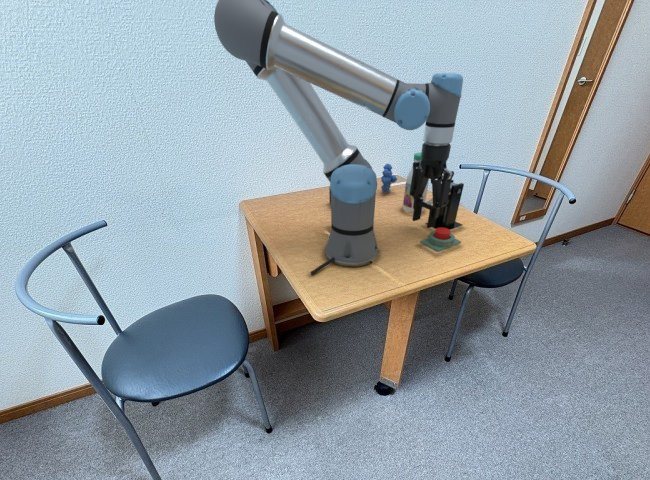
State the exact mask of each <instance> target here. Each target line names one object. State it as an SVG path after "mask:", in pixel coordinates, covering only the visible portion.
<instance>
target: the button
mask: <svg viewBox="0 0 650 480" xmlns="http://www.w3.org/2000/svg"><path fill="white" fill-rule="evenodd" d="M434 229H435V228H434ZM434 231H435V234H434V237H435V238H437V239H441V240H447V239H449V237H450V233H452V230H449V229H447V228H442V227H440V228H436V229H435V230H434Z"/></svg>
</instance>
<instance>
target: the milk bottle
mask: <svg viewBox="0 0 650 480" xmlns="http://www.w3.org/2000/svg"><path fill="white" fill-rule="evenodd" d="M421 160H422V157H421V152H415V153H414V155H413V163H414V162H418V161H421ZM412 175H413V165H412V166H411V168H410V170H409V172H408V175H407V176H406V180H405V187H404V195H403V201H402V210H403V211H404V212H407V213H412V214H413V213H414V209H413V203H414V199H413V196H410V194H409V193H410V187H411V181H412ZM429 181H430V179H429V180H428V183H427V185H426V188H425V190H424V192H423V195H422V197H423V198H420V199H423V202H425V203H426V202H427V196H428V189H429ZM424 211H425V208H424V207H422V211H421V213H423V212H424Z"/></svg>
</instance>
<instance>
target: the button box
mask: <svg viewBox="0 0 650 480" xmlns="http://www.w3.org/2000/svg"><path fill="white" fill-rule="evenodd" d="M434 234H435V230H433V231H430V232H429V233H428V236H427V238H425V239H422V240H420V241H419V243H420V244H421V245H424V246H425V247H427V248H429V249H431V250H433V251H434V252H436V253H440V252H442V251H444V250H447V249H449V248H452V247H455V246H457V245H459V244H461V243H462V241H461V240H459V239H457V238H456V236H455V235H454V234H453V233H452V232H451V233H450V237H449V239H447V240H441V239H437V238H435V237H434Z"/></svg>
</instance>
